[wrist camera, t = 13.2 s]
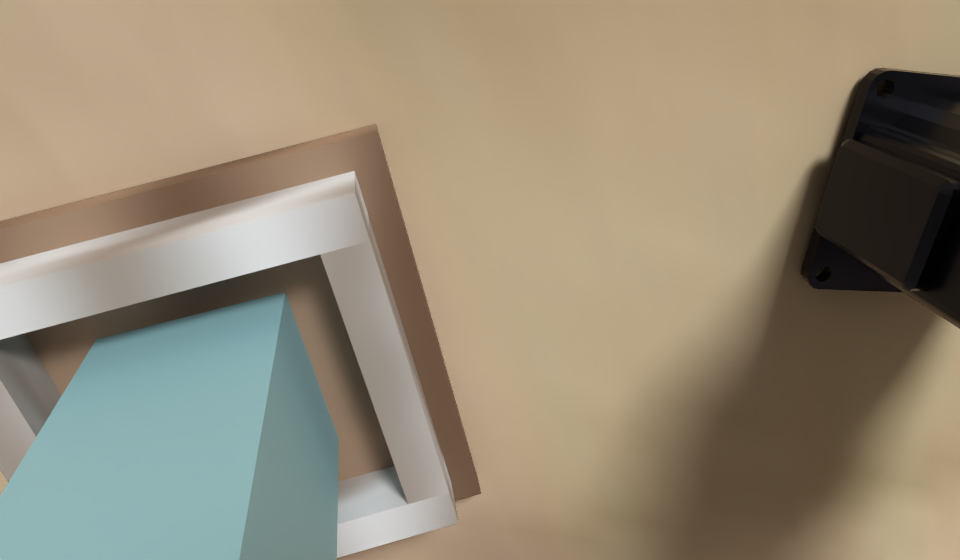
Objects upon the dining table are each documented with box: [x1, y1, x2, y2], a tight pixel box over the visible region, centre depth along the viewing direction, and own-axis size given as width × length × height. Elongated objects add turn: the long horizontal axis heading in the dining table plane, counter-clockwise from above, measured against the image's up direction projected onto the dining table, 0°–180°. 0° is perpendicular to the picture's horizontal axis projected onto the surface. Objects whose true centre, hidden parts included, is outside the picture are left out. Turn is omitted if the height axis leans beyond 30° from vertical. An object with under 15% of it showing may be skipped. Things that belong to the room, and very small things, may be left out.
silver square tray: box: [0, 124, 481, 558], centre depth 20 cm, size 12×12×3 cm
